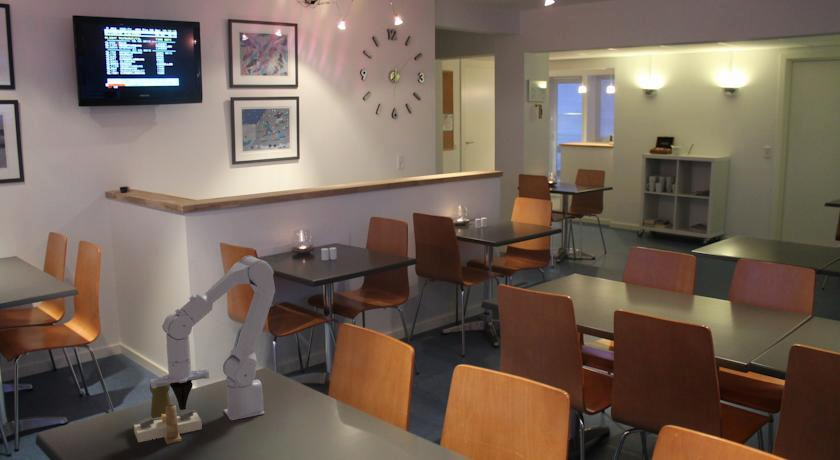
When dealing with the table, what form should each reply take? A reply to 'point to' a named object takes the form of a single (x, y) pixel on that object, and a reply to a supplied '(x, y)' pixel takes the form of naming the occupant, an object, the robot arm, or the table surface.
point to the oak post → (172, 425)
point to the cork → (159, 400)
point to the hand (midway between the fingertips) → (182, 408)
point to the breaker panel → (161, 427)
